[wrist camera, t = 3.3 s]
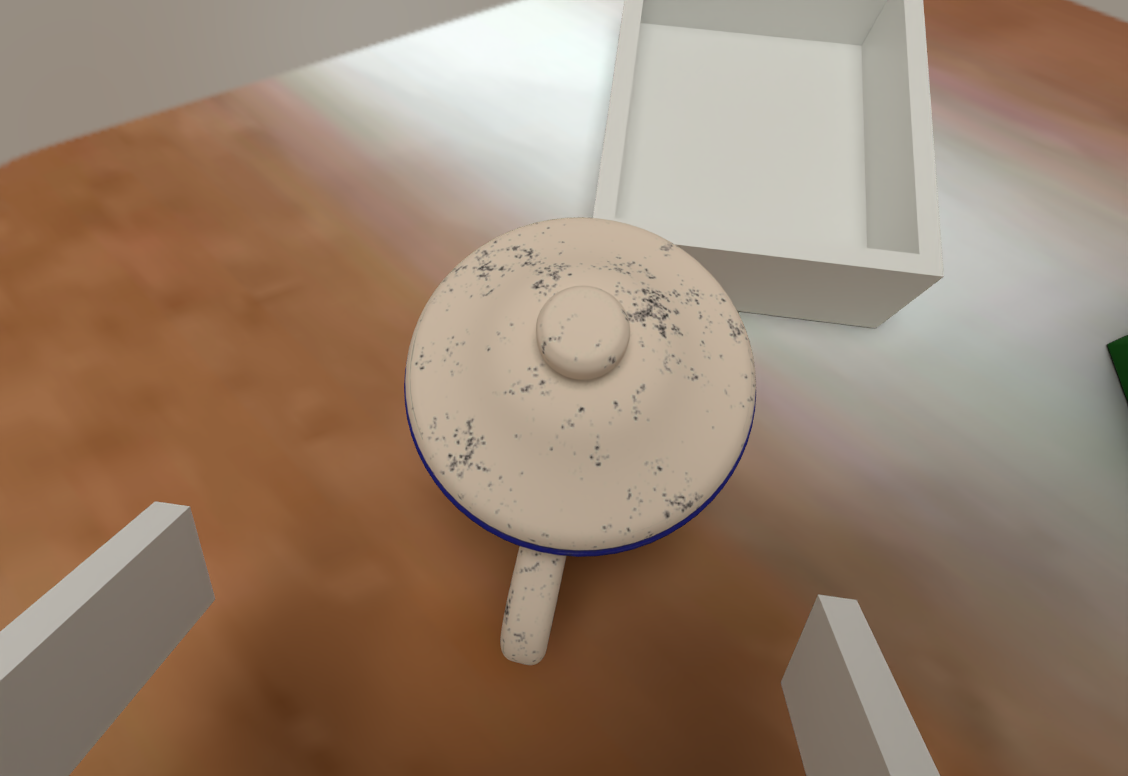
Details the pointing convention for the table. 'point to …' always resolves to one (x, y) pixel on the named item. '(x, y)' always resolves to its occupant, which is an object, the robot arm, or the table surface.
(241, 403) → the table surface
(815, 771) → the robot arm
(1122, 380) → the milk carton
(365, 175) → the table surface
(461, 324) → the teacup with lid
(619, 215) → the white rectangular tray
